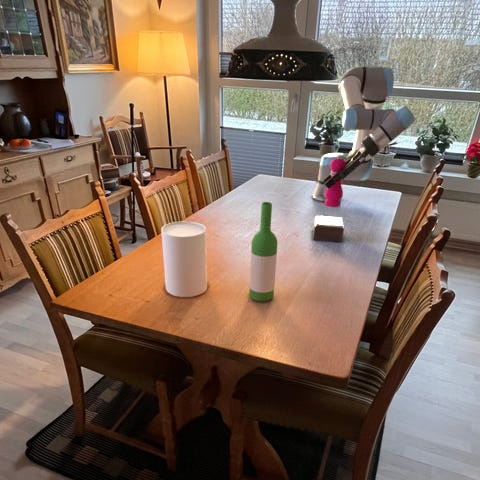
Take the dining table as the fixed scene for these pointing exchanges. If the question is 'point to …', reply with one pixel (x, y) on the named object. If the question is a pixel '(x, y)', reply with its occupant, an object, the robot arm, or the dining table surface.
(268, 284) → the wine bottle
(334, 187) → the pepper mill
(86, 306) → the dining table surface
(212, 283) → the dining table surface
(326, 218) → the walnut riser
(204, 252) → the canister
